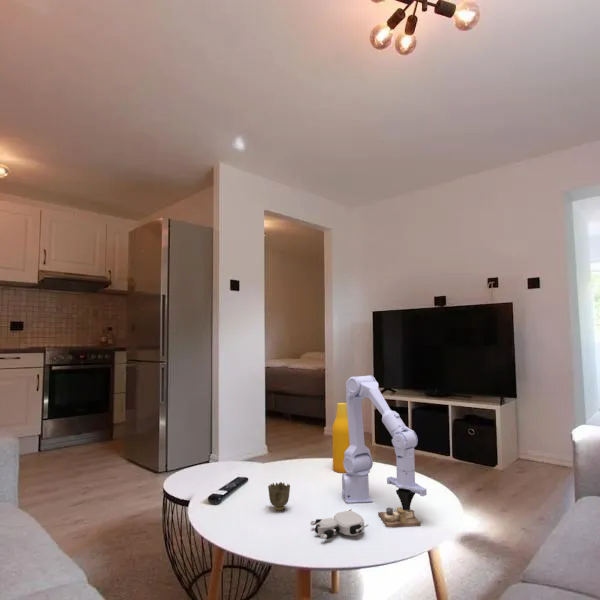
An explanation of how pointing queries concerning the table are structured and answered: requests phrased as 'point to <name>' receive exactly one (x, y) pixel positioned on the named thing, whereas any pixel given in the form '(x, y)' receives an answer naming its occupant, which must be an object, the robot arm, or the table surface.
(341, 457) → the beer bottle
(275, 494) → the cup
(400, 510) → the board
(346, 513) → the robot toy
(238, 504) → the table surface
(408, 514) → the link
